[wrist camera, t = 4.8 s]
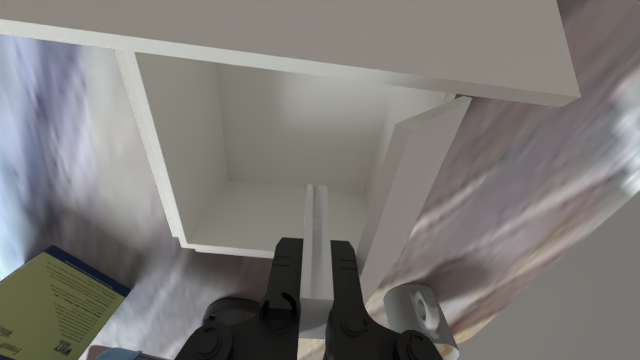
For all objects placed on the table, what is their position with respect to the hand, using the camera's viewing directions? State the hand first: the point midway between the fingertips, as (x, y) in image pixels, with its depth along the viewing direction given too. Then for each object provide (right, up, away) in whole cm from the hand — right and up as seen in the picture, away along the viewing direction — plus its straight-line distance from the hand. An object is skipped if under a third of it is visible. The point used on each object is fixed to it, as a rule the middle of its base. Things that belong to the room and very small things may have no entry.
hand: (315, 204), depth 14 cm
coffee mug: (+18, -21, +32) cm, 42 cm away
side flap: (+8, +1, +3) cm, 8 cm away
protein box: (-46, -17, +31) cm, 58 cm away
